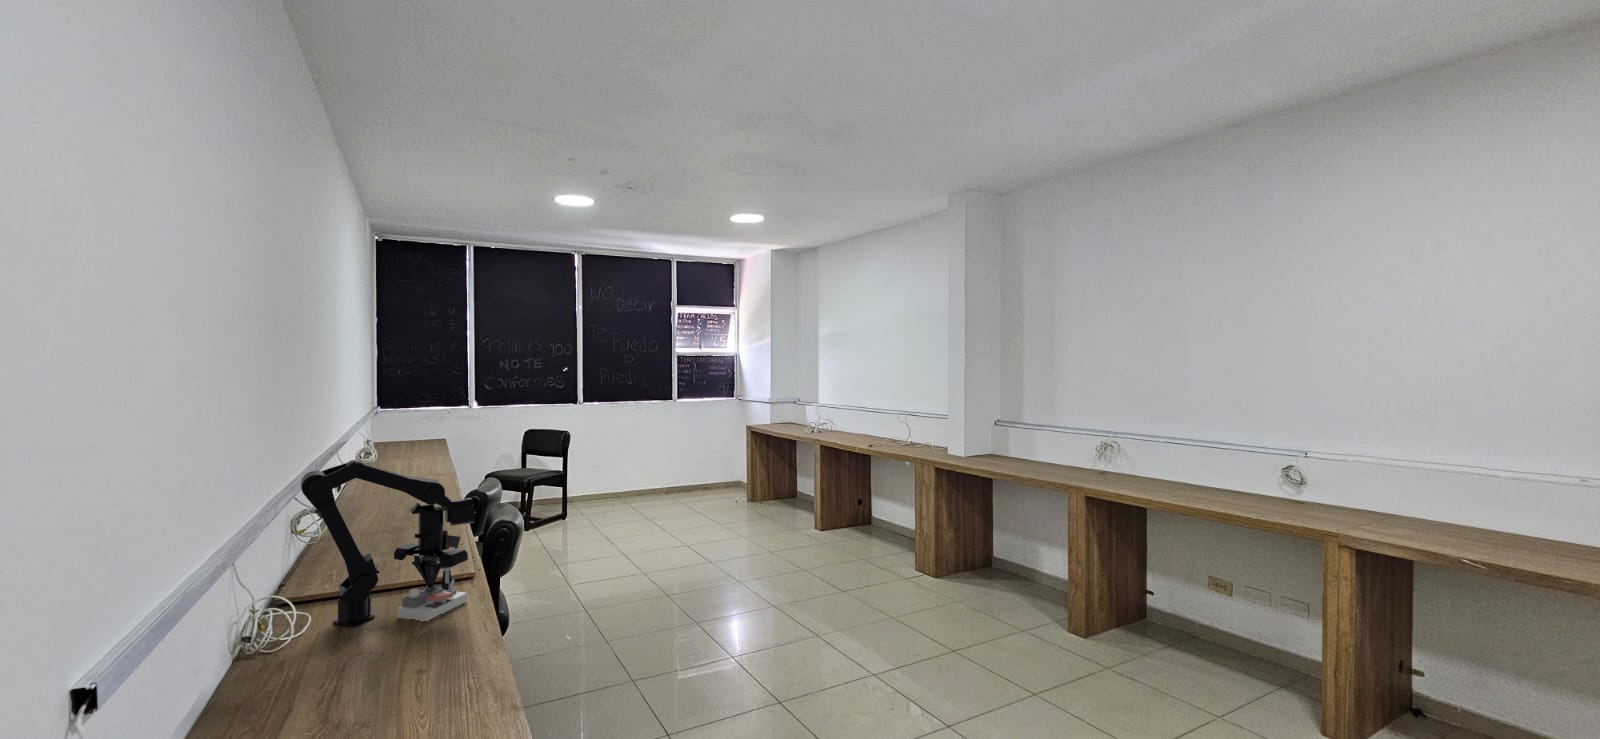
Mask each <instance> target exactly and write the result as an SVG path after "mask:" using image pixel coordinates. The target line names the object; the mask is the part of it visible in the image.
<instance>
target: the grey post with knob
mask: <svg viewBox="0 0 1600 739" xmlns="http://www.w3.org/2000/svg"><path fill="white" fill-rule="evenodd" d="M455 566H456V565H454V566H444V565H442V567H441V569H440V570H442V578H440V584H441V586H440V588H442V589H443V590H449V588H450V584H451V581H452V580H454V578H453V577H452V574H451V573H452V571H451V569H452V568H454V567H455ZM452 590H454V586H453V587H452Z"/></svg>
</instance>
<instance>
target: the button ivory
mask: <svg viewBox="0 0 1600 739" xmlns="http://www.w3.org/2000/svg"><path fill="white" fill-rule="evenodd" d="M420 591H421V590H420V588H412V589H409V591H408V596H409V599H412V600H415V599H418V598H420Z"/></svg>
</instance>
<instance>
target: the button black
mask: <svg viewBox="0 0 1600 739" xmlns="http://www.w3.org/2000/svg"><path fill="white" fill-rule="evenodd" d="M436 587H437V585H435V584H434V586H433V587H428V586H427V585H426V586H425V589H426V592H433V591H436Z"/></svg>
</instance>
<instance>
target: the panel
mask: <svg viewBox="0 0 1600 739" xmlns="http://www.w3.org/2000/svg"><path fill="white" fill-rule="evenodd" d="M454 583H455V579H453V580H452V581H451V584H450V588H449V590H443V589H442V588H441V587H439V586H438V587H437V586H436V591H433V592H426V588H424V589H422V590H420V598H418V599H415V600H412V599H409V595H408V596H405V597H403V598H402V599H401V600H402V601H401V604H402V605H401V606H399V607H397V618H399V619H404V618H405V619H406V620H410V619H416V620H415V621H417V620H424V621H427V620H430V619H432V618H434V617H436V616H438V615H440V614H442V615H443V613H444V614H446V613H447V611H448V612H449V610H450V611H452V610H453V608H454V609H456V608H458V607H460V606H462V605H464V604H467V603H468V592H464V591H457V589H453V590H452V587H453V588H454ZM441 592H451V593H453V597H450V598H447V599H444V600H440V601H437V602H433V601H426V600H427V596H431V595H434V594H438V593H441ZM463 603H464V604H463ZM461 604H462V605H461ZM459 605H460V606H459ZM457 606H458V607H457ZM455 607H456V608H455ZM451 609H452V610H451ZM445 612H446V613H445ZM440 616H441V615H440ZM438 617H439V616H438ZM436 618H437V617H436ZM405 619H404V620H405ZM434 619H435V618H434ZM432 620H433V619H432ZM430 621H431V620H430Z"/></svg>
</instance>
